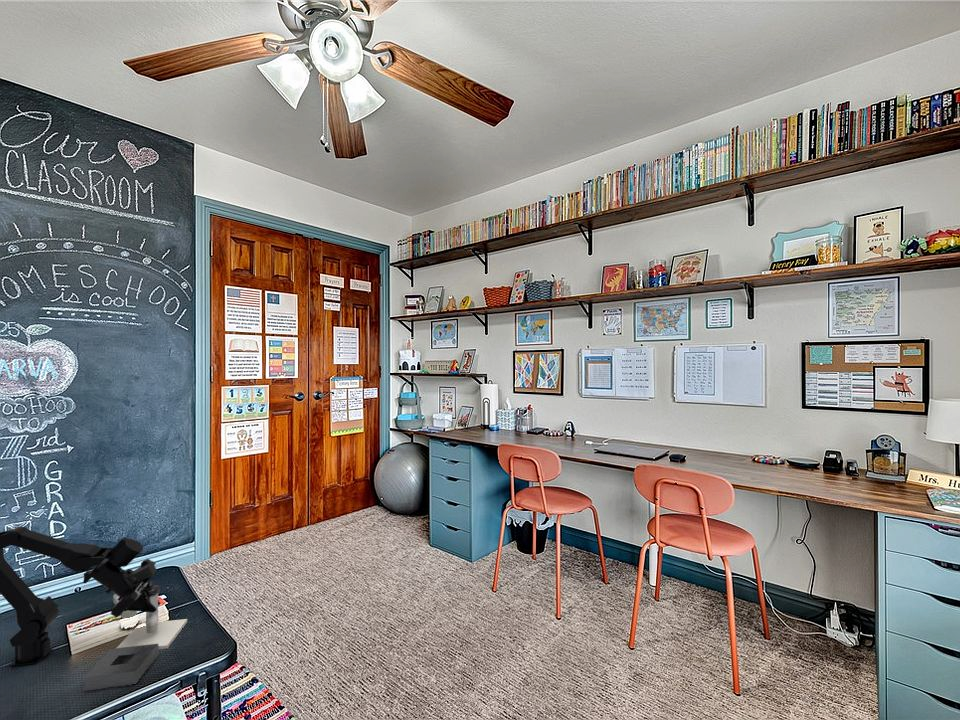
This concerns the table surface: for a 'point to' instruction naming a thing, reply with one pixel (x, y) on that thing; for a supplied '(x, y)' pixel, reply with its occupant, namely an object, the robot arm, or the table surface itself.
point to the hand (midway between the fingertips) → (157, 608)
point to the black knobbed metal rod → (152, 617)
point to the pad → (155, 635)
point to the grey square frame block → (121, 667)
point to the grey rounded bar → (124, 614)
